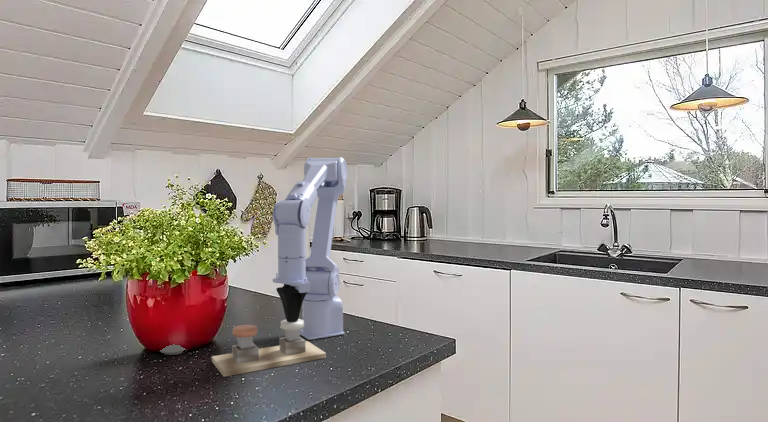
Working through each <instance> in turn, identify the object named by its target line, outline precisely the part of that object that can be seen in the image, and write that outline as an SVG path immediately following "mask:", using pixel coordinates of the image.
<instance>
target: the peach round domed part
mask: <svg viewBox="0 0 768 422" xmlns="http://www.w3.org/2000/svg"><path fill="white" fill-rule="evenodd" d="M257 334H258V326H257V325H254V324H242V325H241V324H240V325H236V326H234V327H232V336H233V337H235V338H237V345H238V347H239V348H240V349H245V348H252V347H253V343H254V336H257Z"/></svg>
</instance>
